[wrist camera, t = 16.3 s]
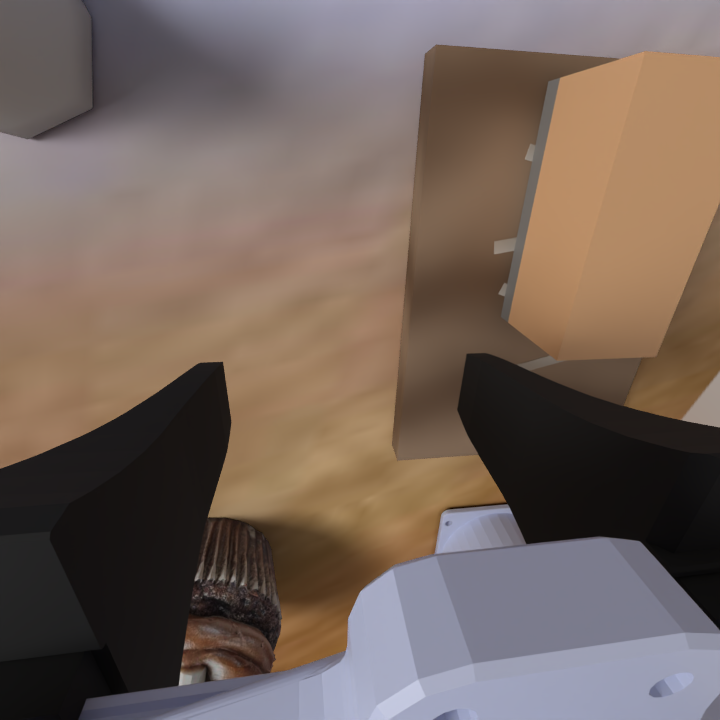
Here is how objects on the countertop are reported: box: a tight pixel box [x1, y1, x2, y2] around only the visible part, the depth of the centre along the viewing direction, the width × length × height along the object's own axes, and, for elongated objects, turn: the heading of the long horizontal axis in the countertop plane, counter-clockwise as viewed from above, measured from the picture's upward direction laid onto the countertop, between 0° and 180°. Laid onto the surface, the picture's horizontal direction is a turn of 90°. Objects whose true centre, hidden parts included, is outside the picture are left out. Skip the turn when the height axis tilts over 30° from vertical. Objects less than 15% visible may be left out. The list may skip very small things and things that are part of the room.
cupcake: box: [179, 517, 282, 686], centre depth 23 cm, size 10×10×10 cm
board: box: [392, 45, 642, 460], centre depth 21 cm, size 20×14×2 cm
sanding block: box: [501, 51, 720, 361], centre depth 16 cm, size 10×4×5 cm, turn 178°
